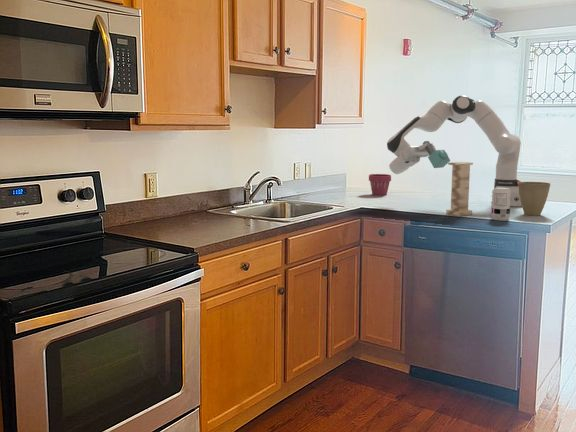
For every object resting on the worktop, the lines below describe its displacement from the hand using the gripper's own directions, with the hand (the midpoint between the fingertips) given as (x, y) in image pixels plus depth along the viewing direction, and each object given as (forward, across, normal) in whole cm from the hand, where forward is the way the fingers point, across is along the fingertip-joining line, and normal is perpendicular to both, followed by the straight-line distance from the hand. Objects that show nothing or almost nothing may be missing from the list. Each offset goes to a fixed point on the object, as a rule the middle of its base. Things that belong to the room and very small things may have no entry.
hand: (429, 144), depth 307 cm
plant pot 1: (-69, -22, 0) cm, 72 cm away
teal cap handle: (-1, 0, -6) cm, 6 cm away
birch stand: (+1, 0, -40) cm, 40 cm away
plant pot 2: (+21, -28, -52) cm, 62 cm away
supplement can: (+20, -3, -51) cm, 55 cm away
